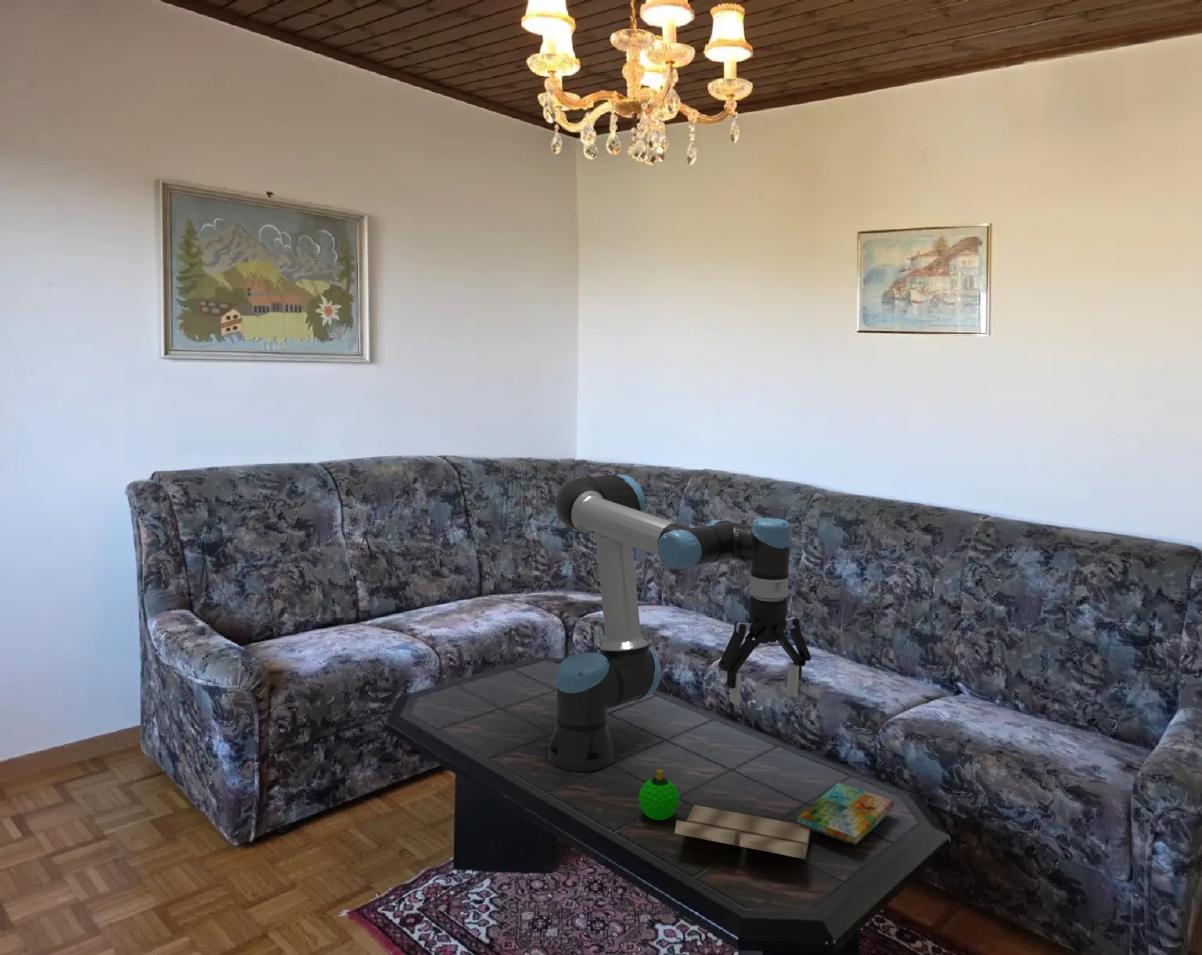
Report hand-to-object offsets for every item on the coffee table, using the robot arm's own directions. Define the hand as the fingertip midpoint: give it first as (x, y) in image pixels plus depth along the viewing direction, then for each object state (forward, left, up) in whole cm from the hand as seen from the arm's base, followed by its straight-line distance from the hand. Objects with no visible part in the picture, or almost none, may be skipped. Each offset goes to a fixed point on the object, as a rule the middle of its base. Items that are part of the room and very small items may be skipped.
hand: (763, 698), depth 179 cm
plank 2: (+5, -19, -21) cm, 29 cm away
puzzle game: (+17, -1, -24) cm, 30 cm away
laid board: (0, -11, -24) cm, 26 cm away
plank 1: (-7, -19, -21) cm, 30 cm away
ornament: (-18, -10, -24) cm, 32 cm away
